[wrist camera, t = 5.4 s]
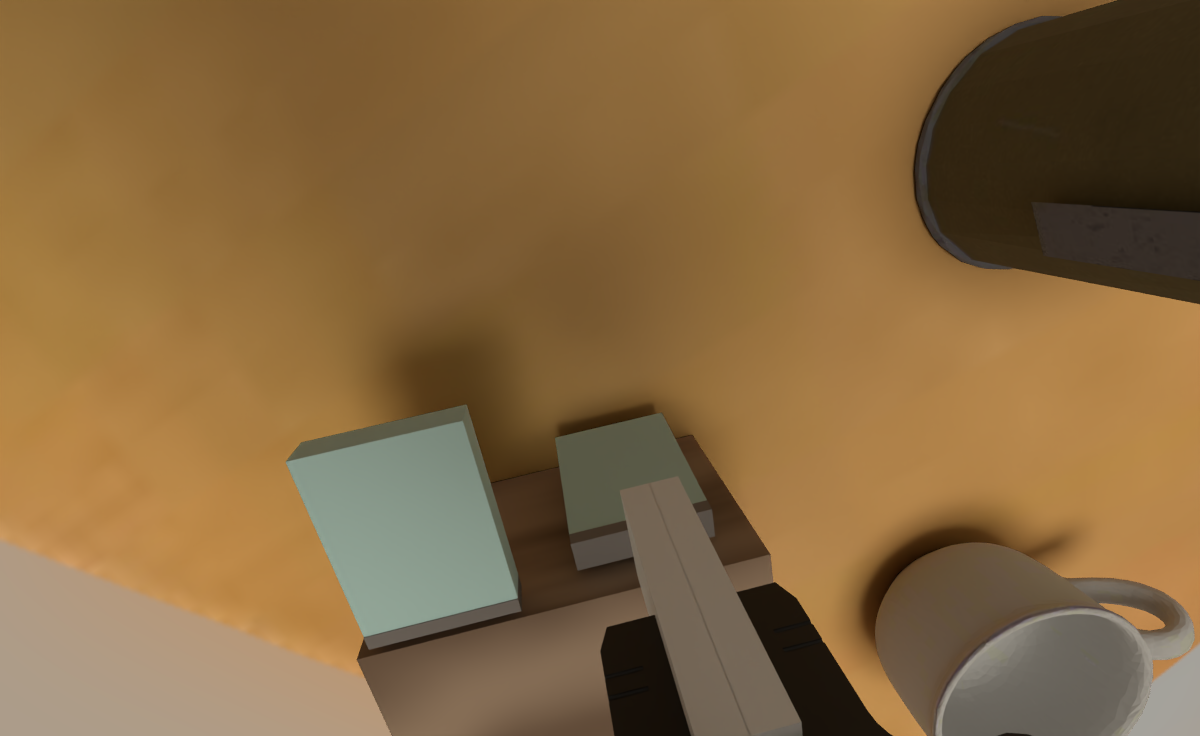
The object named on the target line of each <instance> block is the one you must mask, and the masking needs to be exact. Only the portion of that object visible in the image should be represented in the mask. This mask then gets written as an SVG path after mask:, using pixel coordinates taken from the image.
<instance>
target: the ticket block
mask: <svg viewBox="0 0 1200 736" xmlns="http://www.w3.org/2000/svg"><path fill="white" fill-rule="evenodd" d="M676 441H677V443H678V445H679V447H680V449H681V451H682V453H683V455H684V457H685V459H686V461H687V462H688V464H689V466H690V468H691V470H692V472H693V474H694V476H695V478H696V480H697V482H698V484H699V486H700V488H701V490H702V492H703V493H704V495H705V497H706V499H707V501H708V502H709V504H710V506H711V508H712V514H713V522H714V531H715V536H714V537H710V538H709V539H710V541H711V543H712V545H713V547H714V549H715V551H716V553H717V555H718V557H719V559H720V561H721V563H722V565H723V567H724V569H725V571H726V573H727V575H728V577H729V579H730V581H731V583H732V585H733V587H734V589H735V591H736V592H739V591H743V590H747V589H751V588H754V587H758V586H762V585H766V584H770V583H773V575H772V566H771V556H770V553H769V552H768V550H767V549H766V547H765V545H764V544H763V542H762V541H761V539H760V538H759V536H758V535H757V533H756V532H755V530H754V529H753V527H752V526H751V524H750V523H749V521H748V519H747V518H746V516H745V515H744V513H743V512H742V510H741V509H740V507H739V506H738V504H737V503H736V501H735V500H734V498H733V496H732V495H731V493H730V492H729V490H728V489H727V487H726V486H725V484H724V483H723V481H722V480H721V478H720V477H719V475H718V474H717V472H716V470H715V469H714V467H713V466H712V464H711V463H710V461H709V460H708V458H707V457H706V455H705V454H704V452H703V451H702V449H701V448H700V446H699V444H698V443H697V441H696V440H695V438H694V437H693V435H690V436H686V437H682V438H678V439H676ZM491 486H492V490H493V493H494V496H495V499H496V503H497V506H498V509H499V513H500V516H501V519H502V522H503V526H504V529H505V532H506V536H507V539H508V542H509V545H510V549H511V552H512V555H513V559H514V562H515V565H516V568H517V572H518V575H519V578H520V582H521V585H522V611H520V612H516V613H512V614H508V615H504V616H500V617H496V618H492V619H488V620H485V621H481V622H477V623H473V624H469V625H465V626H461V627H457V628H453V629H449V630H445V631H441V632H437V633H433V634H429V635H425V636H422V637H418V638H414V639H410V640H406V641H402V642H398V643H394V644H390V645H386V646H382V647H378V648H374V649H370V650H369V649H368V647H367V645H366V642H365V640H363V643H362V646H361V649H360V652H359V655H358V658H357V661H358V663H359V666H360V668H361V670H362V672H363V674H364V676H365V678H366V681H367V683H368V685H369V687H370V689H371V691H372V694H373V696H374V698H375V700H376V702H377V704H378V707H379V709H380V711H381V713H382V715H383V717H384V720H385V722H386V724H387V726H388V728H389V730H390V733H391V735H392V736H614V731H613V725H612V719H611V713H610V707H609V700H608V695H607V689H606V683H605V677H604V671H603V665H602V659H601V653H600V650H601V646H602V642H603V639H604V635H605V632H606V628H607V627H609V626H613V625H617V624H621V623H625V622H628V621H632V620H636V619H640V618H644V617H648V616H649V614H648V611H647V607H646V604H645V600H644V597H643V593H642V590H641V586H640V583H639V579H638V576H637V571H636V566H635V561H634V557H631V558H627V559H623V560H619V561H615V562H611V563H607V564H603V565H599V566H595V567H591V568H587V569H583V570H579V571H578V570H577V566H576V563H575V559H574V555H573V551H572V548H571V544H570V537H569V529H568V523H567V516H566V509H565V502H564V495H563V489H562V482H561V475H560V468H559V467H557V468H553V469H548V470H544V471H540V472H536V473H532V474H528V475H523V476H519V477H515V478H511V479H507V480H502V481H498V482H494V483H491Z"/></svg>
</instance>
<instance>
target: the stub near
mask: <svg viewBox="0 0 1200 736" xmlns="http://www.w3.org/2000/svg"><path fill="white" fill-rule="evenodd" d="M286 464H287V466H288V468H289V471H290V473H291V475H292V477H293V480H294V482H295V484H296V486H297V489H298V491H299V493H300V495H301V498H302V500H303V502H304V504H305V507H306V509H307V511H308V513H309V515H310V518H311V520H312V522H313V524H314V527H315V529H316V531H317V533H318V536H319V538H320V540H321V542H322V545H323V547H324V549H325V551H326V553H327V556H328V558H329V560H330V562H331V565H332V567H333V569H334V571H335V574H336V576H337V578H338V580H339V583H340V585H341V587H342V589H343V591H344V594H345V596H346V598H347V600H348V603H349V605H350V607H351V609H352V612H353V614H354V616H355V618H356V621H357V623H358V625H359V627H360V630H361V632H362V634H363V636H364V640H365V642H366V645H367V647H368V649H369V650H370V649H374V648H378V647H382V646H386V645H390V644H394V643H398V642H402V641H406V640H410V639H414V638H418V637H422V636H425V635H429V634H433V633H437V632H441V631H445V630H449V629H453V628H457V627H461V626H465V625H469V624H473V623H477V622H481V621H485V620H488V619H492V618H496V617H500V616H504V615H508V614H512V613H516V612H520V611H522V585H521V582H520V578H519V575H518V572H517V568H516V565H515V562H514V559H513V555H512V552H511V549H510V545H509V542H508V539H507V536H506V532H505V529H504V526H503V522H502V519H501V516H500V513H499V509H498V506H497V503H496V499H495V496H494V493H493V490H492V486H491V483H490V480H489V476H488V473H487V470H486V467H485V463H484V460H483V457H482V453H481V450H480V447H479V443H478V440H477V437H476V434H475V430H474V427H473V424H472V420H471V417H470V414H469V411H468V407H467V404H466V405H462V406H457V407H453V408H449V409H444V410H440V411H436V412H431V413H427V414H423V415H418V416H414V417H410V418H405V419H401V420H397V421H392V422H388V423H384V424H379V425H375V426H371V427H366V428H362V429H358V430H353V431H349V432H345V433H340V434H336V435H332V436H327V437H323V438H318V439H314V440H310V441H305V442H301V443H300V445H299V446H298V447H297V448H296V450H295V451H294V452H293V453H292V455H291V456H290V457H289V458H288V459H287V461H286Z"/></svg>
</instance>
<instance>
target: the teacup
mask: <svg viewBox="0 0 1200 736" xmlns="http://www.w3.org/2000/svg"><path fill="white" fill-rule="evenodd" d="M1099 603H1108V604H1117V605H1123V606H1129V607H1133V608H1137V609H1140V610H1144V611H1146V612H1148V613H1151V614H1153V615H1155V616H1157V617H1158V618H1159V619H1160V620H1162V621H1163V622H1164V624H1165V625H1166V626H1165V627H1164V628H1162V629H1157V630H1151V631H1148V630H1140V629H1136V628H1135V627H1134V626H1133V625H1132V624H1131V623H1130V622H1128V621H1127V620H1126V619H1125V618H1123V617H1122V616H1120V615H1118V614H1116V613H1114V612H1112V611H1109V610H1107V609H1105V608H1104V607H1103V606H1101V605H1100V604H1099ZM875 641H876V648H877V652H878V655H879V658H880V661H881V664H882V666H883V668H884V671H885V673H886V674H887V676H888V678H889V680H890V682H891V683H892V685H893V687H894V688H895V690H896V691H897V693H898V694H899V696H900V698H901V699H902V701H903V702H904V704H905V705H906V706H907V708H908V709H909V711H910V712H911V714H912V715H913V717H914V718H915V720H916V721H917V722H918V724H919V725H920V726H921V728H922V729H923V731H924V732H925V733H926V735H927V736H998V735H1001V734H1004V733H1020V734H1029V735H1032V736H1127V735H1128V734H1129V732H1130V731H1131V729H1132V728H1133V726H1134V725H1135V724H1136V722H1137V721H1138V719H1139V718H1140V716H1141V714H1142V712H1143V710H1144V708H1145V705H1146V703H1147V700H1148V698H1149V693H1150V688H1151V683H1152V679H1153V662H1152V660H1168V659H1172V658H1176V657H1179V656H1181V655H1183V654H1184V653H1186V652H1187V651H1189V650H1190V648H1191V646H1192V644H1193V641H1194V628H1193V622H1192V620H1191V619H1190V617H1189V615H1188V613H1187V612H1186V610H1185V609H1184V608H1183V607H1182V606H1181V605H1180V604H1179V603H1178V602H1177V601H1175V600H1174V599H1173V598H1171V597H1170V596H1168V595H1167V594H1165V593H1164V592H1162V591H1160V590H1157V589H1155V588H1152V587H1150V586H1147V585H1144V584H1141V583H1137V582H1133V581H1128V580H1121V579H1114V578H1064V577H1061V576H1060V575H1058V574H1056V573H1055V572H1053V571H1052V570H1050V569H1049V568H1047V567H1046V566H1044V565H1043V564H1041V563H1039V562H1038V561H1036V560H1034V559H1032V558H1031V557H1029V556H1027V555H1025V554H1023V553H1021V552H1019V551H1017V550H1014V549H1011V548H1008V547H1005V546H1001V545H996V544H991V543H979V542H973V543H962V544H956V545H951V546H948V547H944V548H941V549H938V550H936V551H934V552H931V553H928V554H926V555H924V556H922V557H920V558H918V559H917V560H915V561H914V562H912V563H911V564H909V565H908V566H907V567H906V568H905V569H904V570H903V571H901V572H900V574H899V575H898V576H897V577H896V578H895V580H894V581H893V583H892V584H891V586H890V587H889V589H888V591H887V593H886V594H885V596H884V598H883V601H882V603H881V605H880V608H879V611H878V614H877V619H876V625H875Z"/></svg>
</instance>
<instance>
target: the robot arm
mask: <svg viewBox="0 0 1200 736" xmlns="http://www.w3.org/2000/svg"><path fill="white" fill-rule="evenodd" d="M620 495H621V499H622V504H623V509H624V514H625V518H626V523H627V528H628V533H629V538H630V542H631V547H632V552H633V557H634V561H635V566H636V571H637V576H638V579H639V583H640V586H641V590H642V593H643V597H644V600H645V604H646V607H647V611H648V614H649V616H648V617H644V618H640V619H636V620H632V621H628V622H625V623H621V624H617V625H613V626H609V627H607V628H606V632H605V635H604V639H603V642H602V646H601V650H600V653H601V659H602V665H603V671H604V677H605V683H606V689H607V695H608V700H609V707H610V713H611V719H612V725H613V731H614V736H892V735H891V734H889V733H888V732H887V731H886V730H884V729H883V728H882V727H881V726H880V725H879V724H878V723H877V722H876V721H875V720H874V718H873V717H872V716H871V715H870V713H869V712H868V711H867V709H866V708H865V706H864V704H863V703H862V701H861V700H860V698H859V696H858V695H857V693H856V692H855V690H854V689H853V687H852V685H851V684H850V682H849V681H848V679H847V678H846V676H845V674H844V673H843V671H842V670H841V668H840V666H839V665H838V663H837V662H836V660H835V659H834V657H833V655H832V654H831V652H830V651H829V649H828V647H827V646H826V644H825V643H823V641H822V638H821V636H820V635H819V633H818V632H817V630H816V628H815V627H814V625H813V624H811V622H810V619H809V617H808V616H807V614H806V613H805V611H804V609H803V608H802V606H801V605H800V603H799V602H798V600H797V598H795V597H794V596H793V595H791V594H790V593H789V592H787V591H786V590H785V589H783V588H782V587H781V586H779V585H778V584H777V583H775V582H774V583H770V584H766V585H762V586H758V587H754V588H751V589H747V590H743V591H739V592H736V591H735V589H734V587H733V585H732V583H731V581H730V579H729V577H728V575H727V573H726V571H725V569H724V567H723V565H722V563H721V561H720V559H719V557H718V555H717V553H716V551H715V549H714V547H713V545H712V543H711V541H710V539H709V537H708V535H707V533H706V531H705V529H704V527H703V525H702V523H701V521H700V519H699V517H698V515H697V513H696V511H695V509H694V507H693V505H692V503H691V501H690V499H689V497H688V495H687V493H686V491H685V489H684V487H683V485H682V483H681V481H680V479H679V477H678V476H676V477H672V478H668V479H664V480H660V481H656V482H652V483H647V484H643V485H639V486H635V487H631V488H627V489H623V490H620ZM998 736H1032V735H1029V734H1020V733H1004V734H1001V735H998Z"/></svg>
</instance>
